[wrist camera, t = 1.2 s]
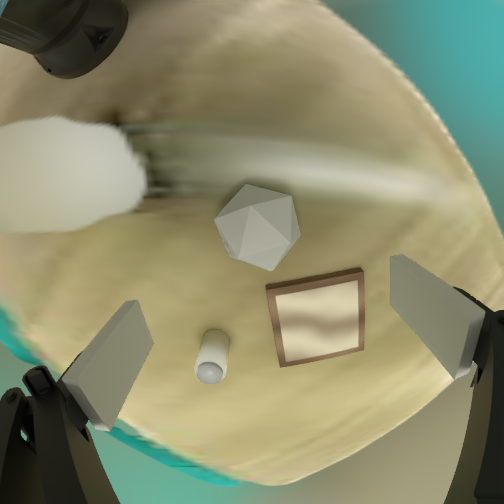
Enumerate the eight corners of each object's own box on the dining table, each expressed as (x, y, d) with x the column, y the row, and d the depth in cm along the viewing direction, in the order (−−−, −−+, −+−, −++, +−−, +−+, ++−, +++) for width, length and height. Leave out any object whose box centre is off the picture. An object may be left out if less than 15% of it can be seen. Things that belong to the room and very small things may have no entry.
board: (265, 285, 37) (266, 290, 35) (359, 267, 36) (364, 271, 35) (279, 361, 40) (280, 368, 39) (361, 344, 40) (364, 350, 38)
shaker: (199, 331, 39) (189, 364, 31) (226, 327, 39) (221, 361, 31) (206, 352, 40) (198, 387, 33) (232, 349, 40) (228, 385, 32)
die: (233, 174, 34) (186, 222, 27) (303, 170, 29) (269, 223, 23) (252, 230, 39) (216, 282, 32) (316, 232, 34) (289, 293, 28)
